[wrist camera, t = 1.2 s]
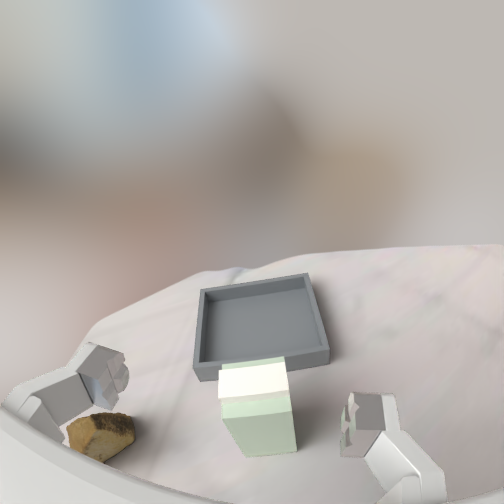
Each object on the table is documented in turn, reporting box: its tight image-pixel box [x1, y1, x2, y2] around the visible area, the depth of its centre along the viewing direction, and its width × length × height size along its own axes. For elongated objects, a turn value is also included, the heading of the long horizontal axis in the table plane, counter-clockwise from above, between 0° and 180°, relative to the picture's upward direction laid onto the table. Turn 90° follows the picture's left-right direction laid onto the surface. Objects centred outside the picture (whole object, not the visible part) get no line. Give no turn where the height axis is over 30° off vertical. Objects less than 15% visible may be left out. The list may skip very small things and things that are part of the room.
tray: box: [193, 273, 330, 382], centre depth 46 cm, size 18×16×4 cm
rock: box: [66, 412, 135, 463], centre depth 31 cm, size 11×9×10 cm
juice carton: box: [218, 356, 297, 458], centre depth 29 cm, size 6×6×13 cm
